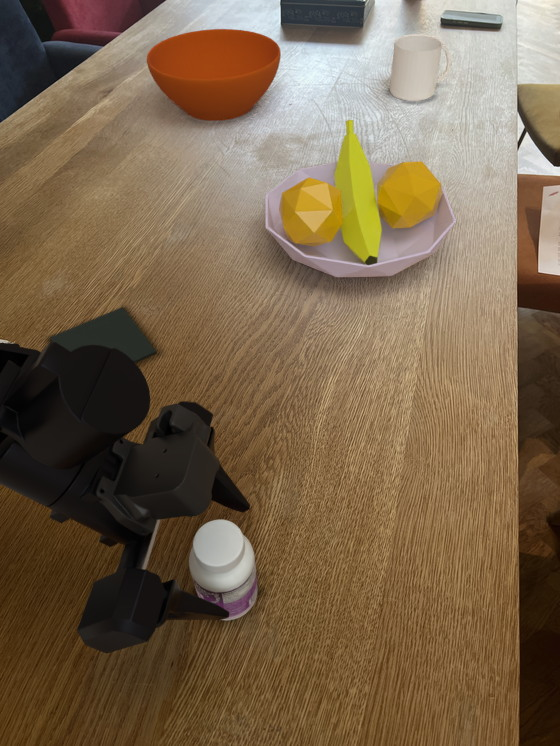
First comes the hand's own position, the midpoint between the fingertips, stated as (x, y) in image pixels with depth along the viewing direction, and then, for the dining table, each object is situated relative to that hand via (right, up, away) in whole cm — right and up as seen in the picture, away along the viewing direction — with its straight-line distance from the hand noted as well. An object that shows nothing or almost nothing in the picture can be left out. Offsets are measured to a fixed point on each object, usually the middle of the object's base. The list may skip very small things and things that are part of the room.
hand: (237, 559), depth 49 cm
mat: (-19, +18, +27) cm, 38 cm away
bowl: (-9, +68, +73) cm, 100 cm away
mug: (+32, +72, +75) cm, 109 cm away
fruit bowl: (+15, +35, +41) cm, 56 cm away
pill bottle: (-1, -5, +5) cm, 7 cm away
